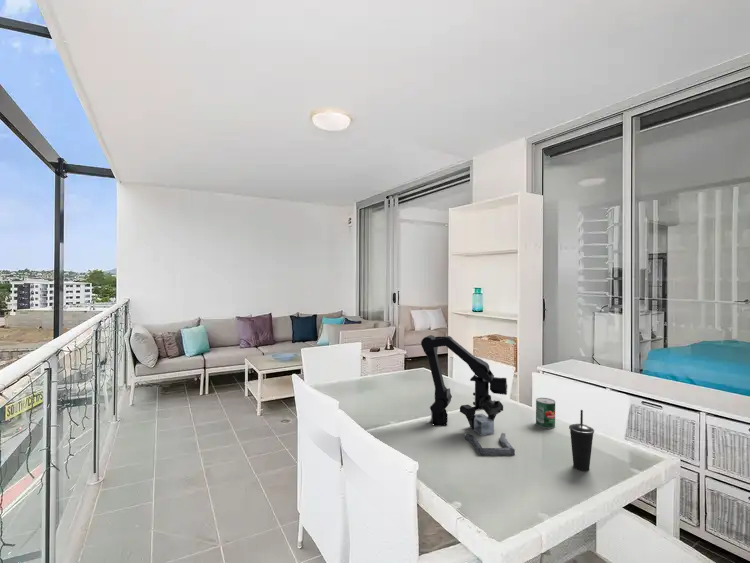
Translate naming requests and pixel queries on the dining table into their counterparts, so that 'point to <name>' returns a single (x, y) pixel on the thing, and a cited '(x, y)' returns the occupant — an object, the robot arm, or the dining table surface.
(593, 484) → the dining table surface
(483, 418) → the block
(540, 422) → the canned tomato
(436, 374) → the robot arm
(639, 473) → the dining table surface
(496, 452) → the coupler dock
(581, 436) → the drinking cup
